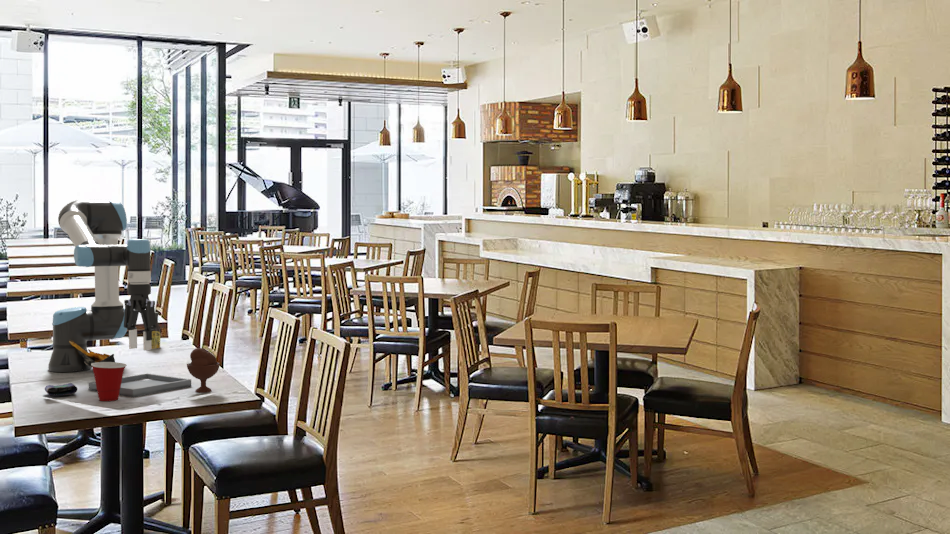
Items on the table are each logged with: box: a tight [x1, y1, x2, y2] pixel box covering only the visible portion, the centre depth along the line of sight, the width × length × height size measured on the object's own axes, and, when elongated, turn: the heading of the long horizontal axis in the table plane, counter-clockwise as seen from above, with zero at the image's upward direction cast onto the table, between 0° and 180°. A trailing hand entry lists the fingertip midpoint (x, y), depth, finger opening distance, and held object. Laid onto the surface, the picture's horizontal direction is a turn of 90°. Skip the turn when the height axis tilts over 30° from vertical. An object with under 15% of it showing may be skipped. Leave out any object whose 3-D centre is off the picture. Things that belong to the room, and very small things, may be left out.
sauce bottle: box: [151, 311, 161, 350], centre depth 381 cm, size 6×6×20 cm
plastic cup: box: [91, 361, 127, 402], centre depth 288 cm, size 11×11×12 cm
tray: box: [88, 372, 192, 398], centre depth 309 cm, size 24×24×2 cm
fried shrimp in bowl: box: [69, 340, 116, 367], centre depth 334 cm, size 9×11×18 cm
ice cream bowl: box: [186, 347, 221, 394], centre depth 303 cm, size 11×11×15 cm
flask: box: [44, 382, 78, 396], centre depth 297 cm, size 9×3×11 cm
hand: (140, 349), depth 308 cm, fingers open, 7 cm apart
